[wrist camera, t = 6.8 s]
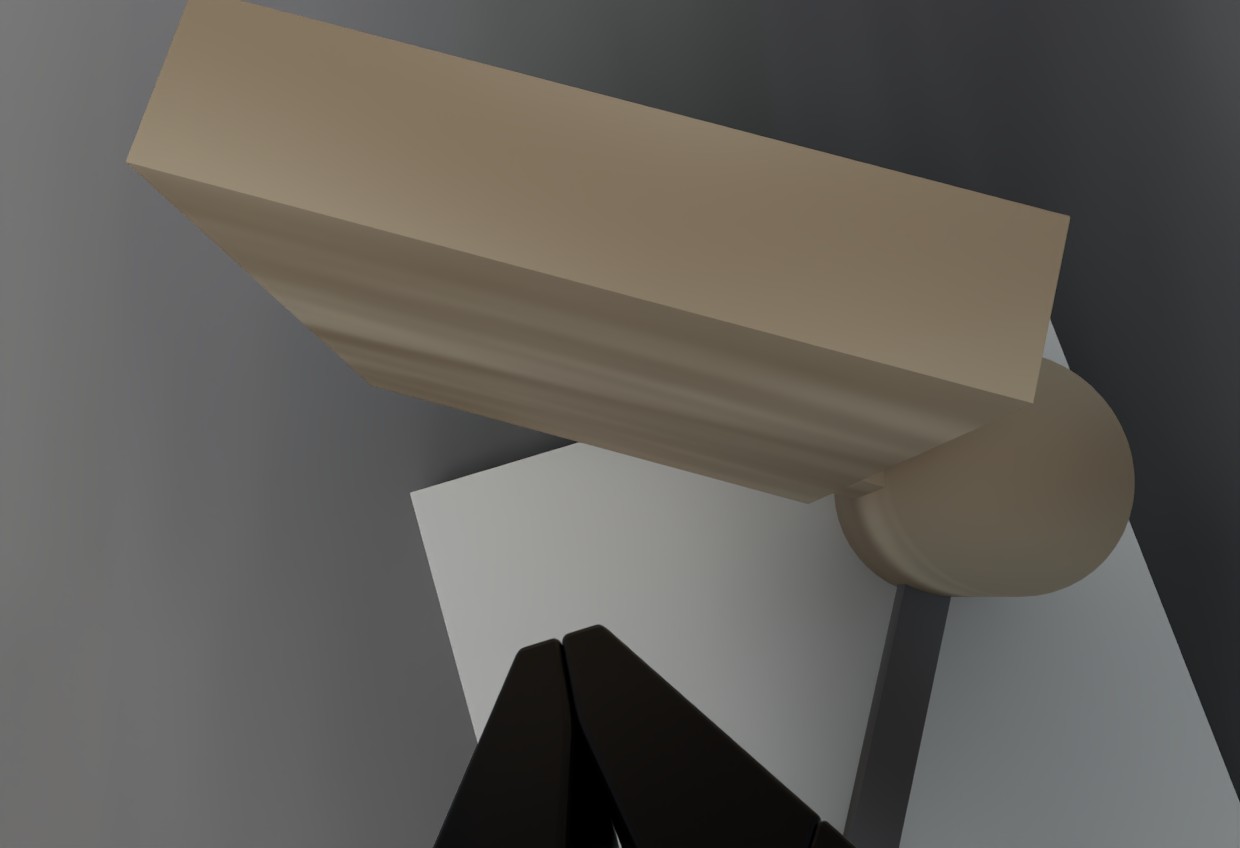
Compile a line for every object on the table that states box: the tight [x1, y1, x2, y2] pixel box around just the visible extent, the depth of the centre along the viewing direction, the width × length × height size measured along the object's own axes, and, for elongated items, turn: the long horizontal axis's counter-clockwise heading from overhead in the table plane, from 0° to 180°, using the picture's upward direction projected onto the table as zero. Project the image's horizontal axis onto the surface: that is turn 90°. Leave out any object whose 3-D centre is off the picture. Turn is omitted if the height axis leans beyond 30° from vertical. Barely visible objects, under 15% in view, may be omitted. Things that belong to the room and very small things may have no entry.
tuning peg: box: [126, 0, 1135, 848], centre depth 11 cm, size 11×11×8 cm
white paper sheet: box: [410, 320, 1240, 848], centre depth 16 cm, size 13×11×2 cm
